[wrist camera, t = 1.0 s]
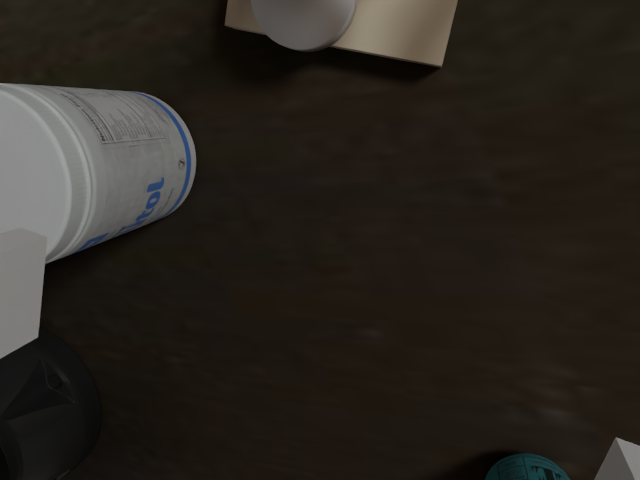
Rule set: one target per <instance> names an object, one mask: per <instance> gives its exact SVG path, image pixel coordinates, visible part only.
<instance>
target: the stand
mask: <svg viewBox="0 0 640 480" xmlns="http://www.w3.org/2000/svg"><path fill="white" fill-rule="evenodd" d="M457 1H458V0H357V7H356V11H355V15H354V18H353V20H352V23H351V25H350V26H349V28H348V30H347V31H346V32H345V34H344V35H343V36H342V37H341V38H340V39H339V40H338V41H337V42H336V43H334V44H333V45H331V46H329V47H333V48H338V49H344V50H349V51H354V52H360V53H365V54H370V55H376V56H381V57H386V58H392V59H397V60H402V61H408V62H413V63H418V64H424V65H429V66H434V67H440V68H442V63H443V59H444V55H445V51H446V47H447V43H448V39H449V34H450V30H451V26H452V22H453V18H454V14H455V10H456V6H457ZM225 26H228V27H231V28H234V29H237V30H242V31H248V32H253V33H258V34H264V35H266V34H265V33H264V32H263V30H262V29H261V27H260V26H259V24H258V22H257V21H256V18H255V16H254V13H253V9H252V5H251V0H228V3H227V11H226V19H225Z"/></svg>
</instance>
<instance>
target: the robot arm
mask: <svg viewBox="0 0 640 480" xmlns="http://www.w3.org/2000/svg"><path fill="white" fill-rule="evenodd" d="M46 247H47V237H46V236H43V235H40V234H38V233H35V232H32V231H29V230H26V229H23V228H21V227H20V228H16V229H13V230H10V231H6V232H3V233H0V480H60V479H62V478H63V477H65V476H66V475H68V474H69V473H70V472H71V471H72V470H73V469H74V468H75V467H76V466H77V465H78V464H79V463H80V462H81V461H82V460H83V459H84V458H85V457H86V456H87V455H88V454H89V453H90V452H91V450H92V449H93V447H94V445H95V443H96V441H97V439H98V435H99V432H100V426H101V407H100V401H99V397H98V393H97V390H96V387H95V385H94V382H93V380H92V378H91V376H90V374H89V373H88V371H87V369H86V368H85V366H84V365H83V363H82V362H81V360H80V359H79V358H78V357H77V355H76V354H75V353H74V352H73V351H72V350H71V349H70V348H69V347H68V346H67V345H66V344H65V343H63V342H62V341H61V340H60V339H58V338H57V337H56V336H54V335H53V334H51V333H49V332H48V331H46V330H44V329H42V328H40V327H39V322H40V311H41V300H42V290H43V279H44V268H45V258H46ZM594 480H640V446H638V445H636V444H633V443H630V442H627V441H624V440H621V439H619V438H615V440H614V442H613V444H612V446H611V448H610V450H609V452H608V454H607V456H606V458H605V460H604V462H603V464H602V465H601V467H600V469H599V471H598V473H597V475H596V477H595V479H594Z"/></svg>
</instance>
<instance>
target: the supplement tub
mask: <svg viewBox="0 0 640 480" xmlns="http://www.w3.org/2000/svg"><path fill="white" fill-rule="evenodd" d="M195 170H196V153H195V147H194V143H193V140H192V137H191V135H190V132H189V130H188V128H187V127H186V125H185V123H184V122H183V120H182V119H181V117H180V116H179V115H178V114H177V113H176V112H175V111H174V110H173V109H172V108H171V107H170V106H169V105H167V104H166V103H165V102H163V101H161V100H160V99H158V98H156V97H154V96H151V95H148V94H145V93H140V92H133V91H116V90H100V89H85V88H70V87H55V86H40V85H26V84H3V83H0V233H3V232H6V231H10V230H13V229H16V228H20V227H21V228H23V229H26V230H29V231H32V232H35V233H38V234H40V235H43V236H46V237H47V247H46V258H45V264H46V263H49V262H52V261H55V260H57V259H60V258H63V257H66V256H68V255H71V254H73V253H76V252H78V251H81V250H84V249H86V248H89V247H91V246H94V245H96V244H99V243H101V242H104V241H106V240H109V239H111V238H114V237H116V236H119V235H121V234H124V233H126V232H129V231H132V230H134V229H137V228H139V227H142V226H144V225H146V224H149V223H151V222H154V221H156V220H159V219H161V218H163V217H165V216H167V215H169V214H170V213H172V212H173V211H175V210H176V209H177V208H178V207H179V206H180V205H181V204H182V203H183V201H184V200H185V199H186V197H187V195H188V194H189V191H190V189H191V186H192V184H193V180H194V176H195Z"/></svg>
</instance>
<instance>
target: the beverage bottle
mask: <svg viewBox="0 0 640 480" xmlns="http://www.w3.org/2000/svg"><path fill="white" fill-rule="evenodd" d="M566 474H567V473H566V472H565V471H564V470H562V469H561V468H560V467H559V466H558V465H556V464H555V463H554V462H552V461H550V460H549V459H547V458H544V457H542V456H538V455H534V454H515V455H511V456H508V457H505V458H503V459H501V460H499V461H498V462H497V463H495V464H494V465H493V466H492V467H491V469H490V470H489V472H488V473H487V476H486V478H485V480H570V479H569V477H570V476H569V475H568V474H567V475H568V476H569V477H568V476H567V475H566Z"/></svg>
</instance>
